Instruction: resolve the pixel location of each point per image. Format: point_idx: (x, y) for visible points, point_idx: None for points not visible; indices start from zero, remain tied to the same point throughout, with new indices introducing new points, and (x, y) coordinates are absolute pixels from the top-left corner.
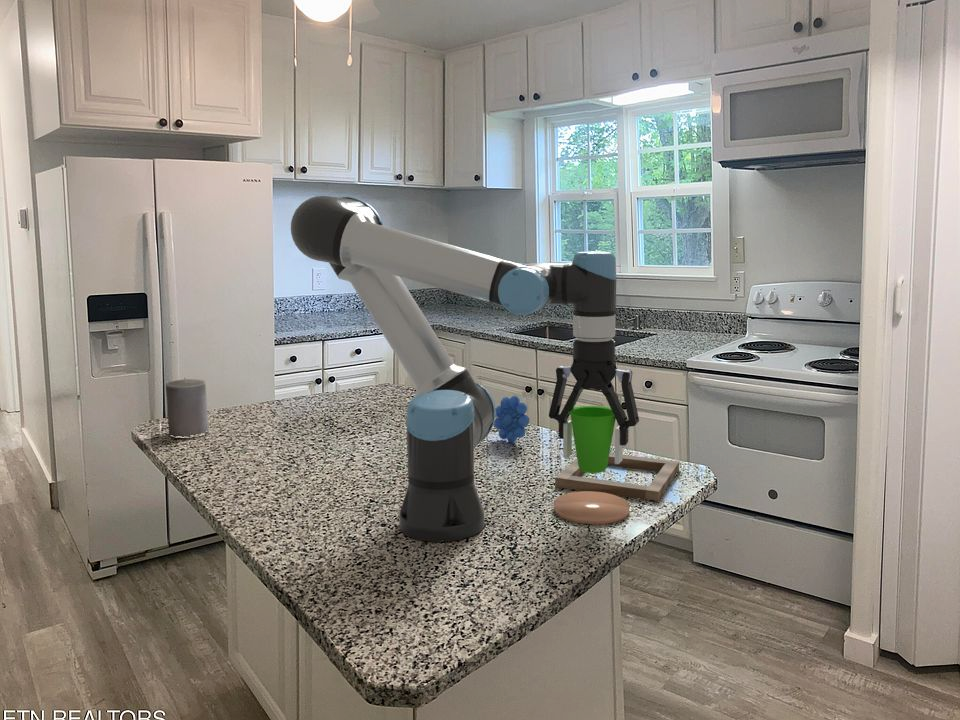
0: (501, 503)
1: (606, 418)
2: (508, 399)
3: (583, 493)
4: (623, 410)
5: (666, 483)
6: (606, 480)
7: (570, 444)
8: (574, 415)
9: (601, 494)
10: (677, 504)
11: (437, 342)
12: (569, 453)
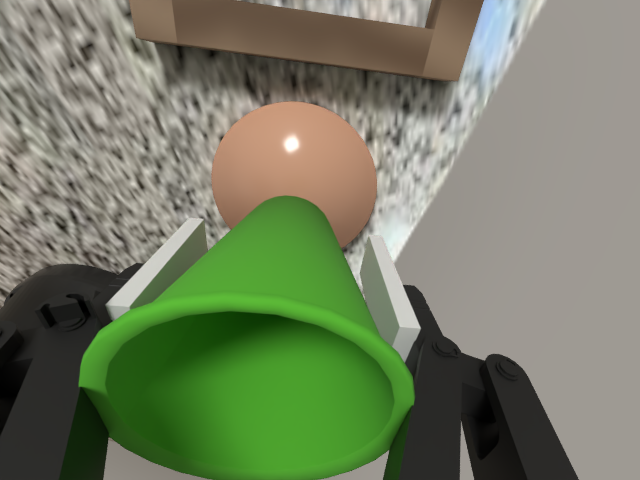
0: (111, 206)
1: (350, 449)
2: None
3: (259, 128)
4: (458, 426)
5: None
6: (299, 11)
7: (189, 251)
8: (188, 468)
9: (304, 122)
10: (492, 86)
11: None
12: (203, 245)
